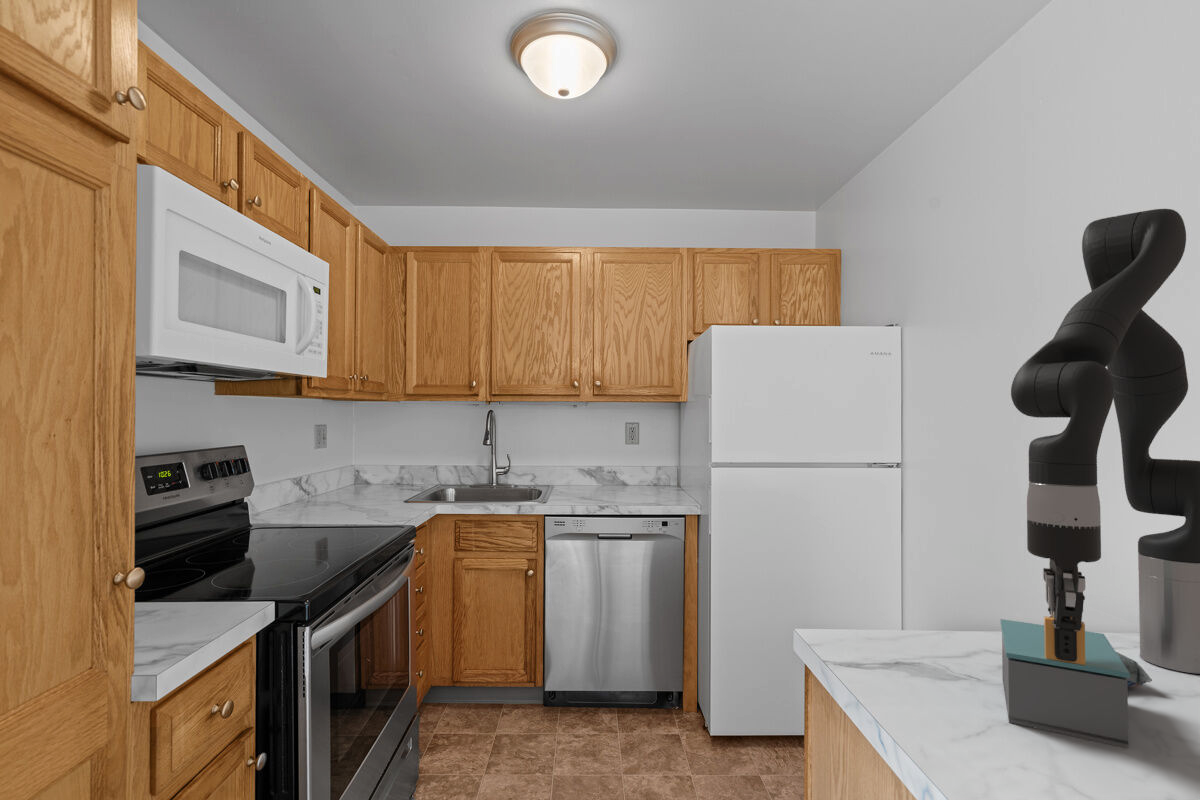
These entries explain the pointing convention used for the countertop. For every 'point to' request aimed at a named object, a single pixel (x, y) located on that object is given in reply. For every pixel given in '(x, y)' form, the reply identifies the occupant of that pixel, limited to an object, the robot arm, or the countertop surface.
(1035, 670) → the tub
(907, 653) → the countertop surface
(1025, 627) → the lid
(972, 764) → the countertop surface
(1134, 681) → the packaged food
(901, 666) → the countertop surface
